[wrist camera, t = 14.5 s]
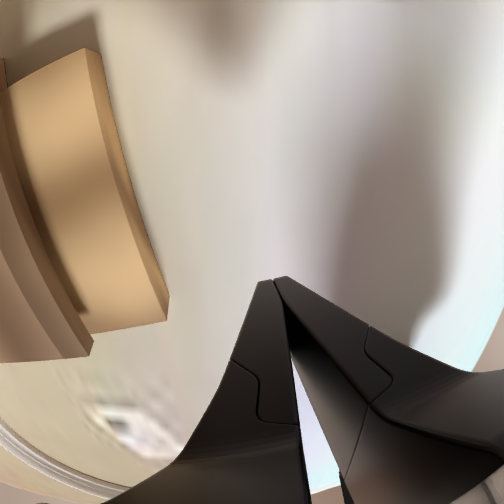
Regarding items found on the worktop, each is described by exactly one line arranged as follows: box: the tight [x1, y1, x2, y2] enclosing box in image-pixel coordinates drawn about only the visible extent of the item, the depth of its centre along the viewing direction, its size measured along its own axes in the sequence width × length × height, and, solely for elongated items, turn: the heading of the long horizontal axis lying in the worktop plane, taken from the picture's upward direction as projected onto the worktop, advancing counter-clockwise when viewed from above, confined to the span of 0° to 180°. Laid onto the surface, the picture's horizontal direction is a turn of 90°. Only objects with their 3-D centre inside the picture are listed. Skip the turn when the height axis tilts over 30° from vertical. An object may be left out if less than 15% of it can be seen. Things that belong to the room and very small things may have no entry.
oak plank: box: [0, 48, 169, 334], centre depth 11 cm, size 12×5×2 cm, turn 9°
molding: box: [0, 417, 130, 500], centre depth 25 cm, size 42×12×3 cm, turn 36°
